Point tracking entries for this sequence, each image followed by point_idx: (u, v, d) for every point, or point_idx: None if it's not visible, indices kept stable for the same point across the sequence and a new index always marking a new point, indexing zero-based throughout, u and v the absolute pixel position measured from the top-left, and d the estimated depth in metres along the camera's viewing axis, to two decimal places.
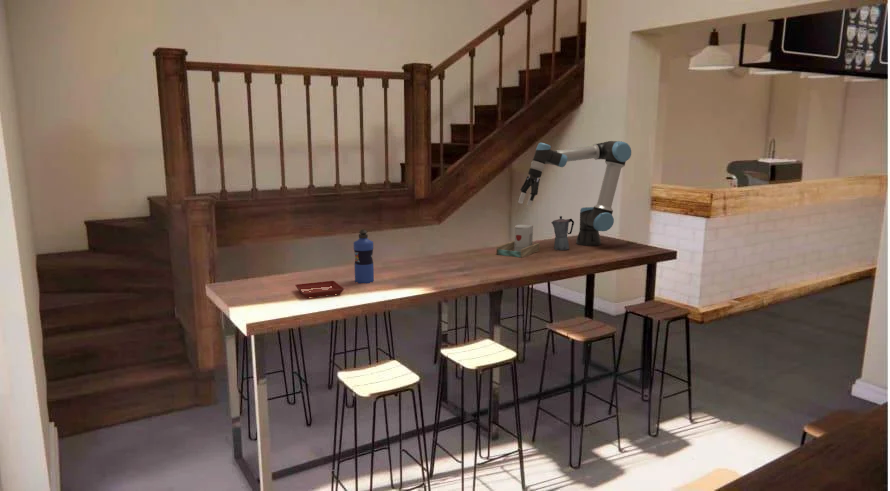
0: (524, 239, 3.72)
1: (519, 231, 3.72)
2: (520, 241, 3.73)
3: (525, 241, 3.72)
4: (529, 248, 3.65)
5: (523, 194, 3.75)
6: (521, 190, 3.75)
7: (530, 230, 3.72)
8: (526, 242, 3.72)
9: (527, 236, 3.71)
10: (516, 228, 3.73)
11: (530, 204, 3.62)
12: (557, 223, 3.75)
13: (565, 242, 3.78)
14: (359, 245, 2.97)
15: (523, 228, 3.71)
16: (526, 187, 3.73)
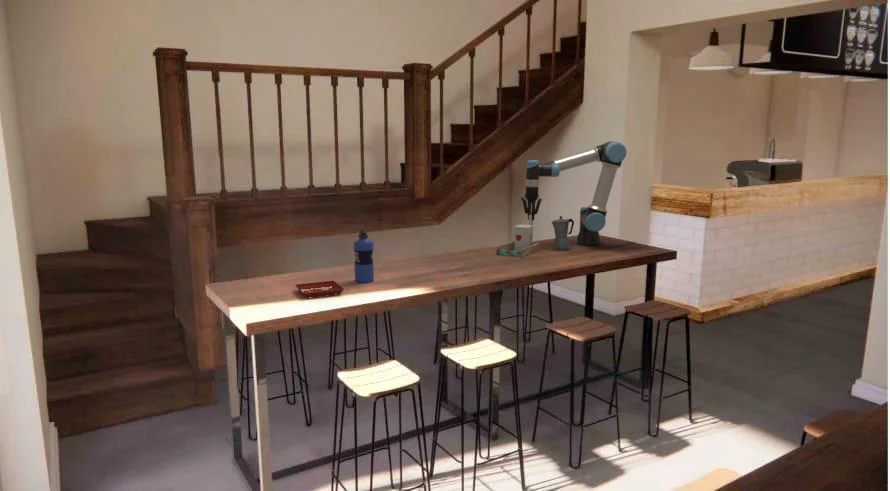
0: (524, 239, 3.72)
1: (519, 231, 3.72)
2: (520, 241, 3.73)
3: (525, 241, 3.72)
4: (529, 248, 3.65)
5: None
6: (527, 213, 3.83)
7: (530, 230, 3.72)
8: (526, 242, 3.72)
9: (527, 236, 3.71)
10: (516, 228, 3.73)
11: (532, 223, 3.84)
12: (557, 223, 3.75)
13: (565, 242, 3.78)
14: (359, 245, 2.97)
15: (523, 228, 3.71)
16: (530, 207, 3.83)
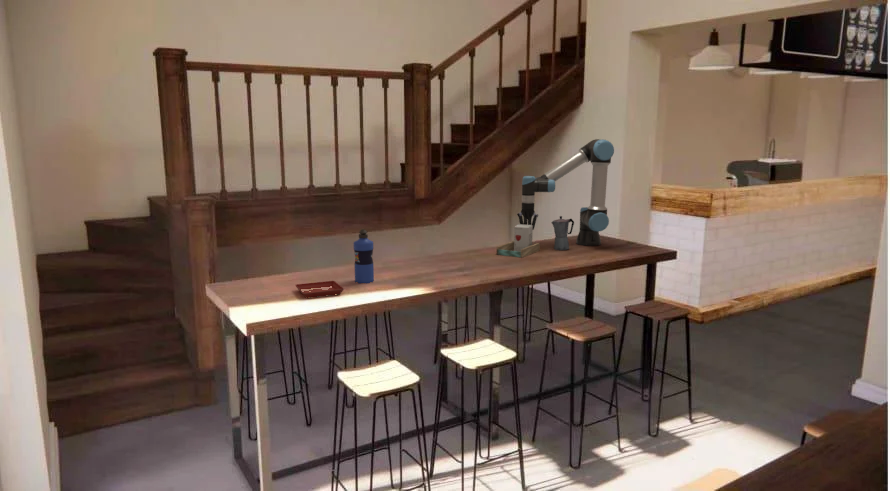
0: (524, 239, 3.71)
1: (518, 231, 3.72)
2: (520, 241, 3.72)
3: (525, 241, 3.71)
4: (529, 248, 3.65)
5: None
6: None
7: (529, 230, 3.71)
8: (526, 243, 3.71)
9: (527, 236, 3.70)
10: (516, 228, 3.72)
11: None
12: (557, 223, 3.75)
13: (565, 242, 3.78)
14: (359, 245, 2.97)
15: (522, 228, 3.70)
16: (526, 223, 3.80)
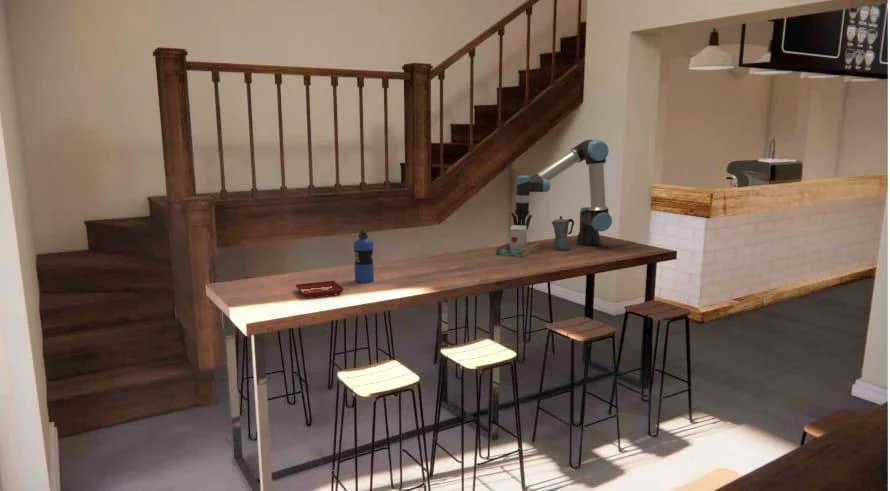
0: (520, 241, 3.66)
1: (515, 233, 3.65)
2: (516, 243, 3.67)
3: (521, 242, 3.66)
4: (529, 248, 3.65)
5: None
6: None
7: (525, 232, 3.66)
8: (522, 244, 3.66)
9: (523, 238, 3.65)
10: (511, 230, 3.65)
11: None
12: (557, 223, 3.75)
13: (565, 242, 3.78)
14: (359, 245, 2.97)
15: (519, 230, 3.64)
16: (520, 223, 3.75)
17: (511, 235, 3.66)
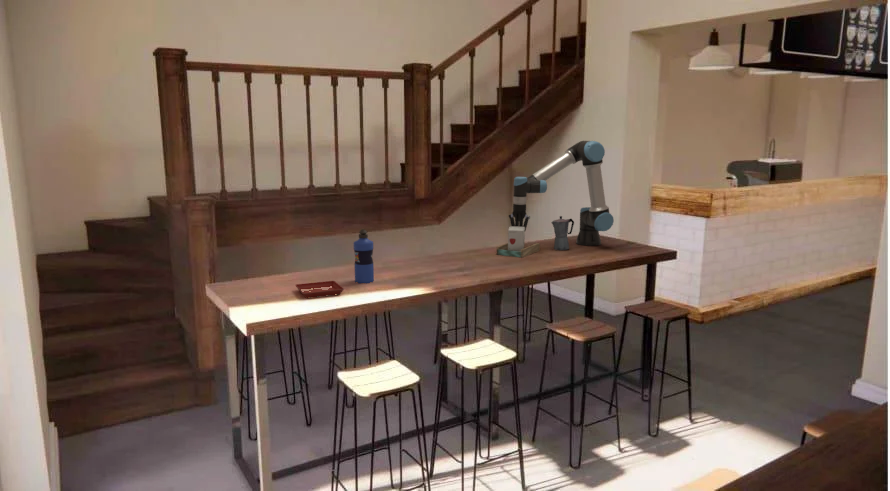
0: (518, 242, 3.62)
1: (513, 234, 3.61)
2: (514, 244, 3.62)
3: (519, 244, 3.62)
4: (529, 248, 3.65)
5: None
6: None
7: None
8: (520, 246, 3.62)
9: (521, 239, 3.61)
10: (510, 231, 3.61)
11: None
12: (557, 223, 3.75)
13: (565, 242, 3.78)
14: (359, 245, 2.97)
15: (517, 231, 3.60)
16: (517, 224, 3.71)
17: (509, 236, 3.62)
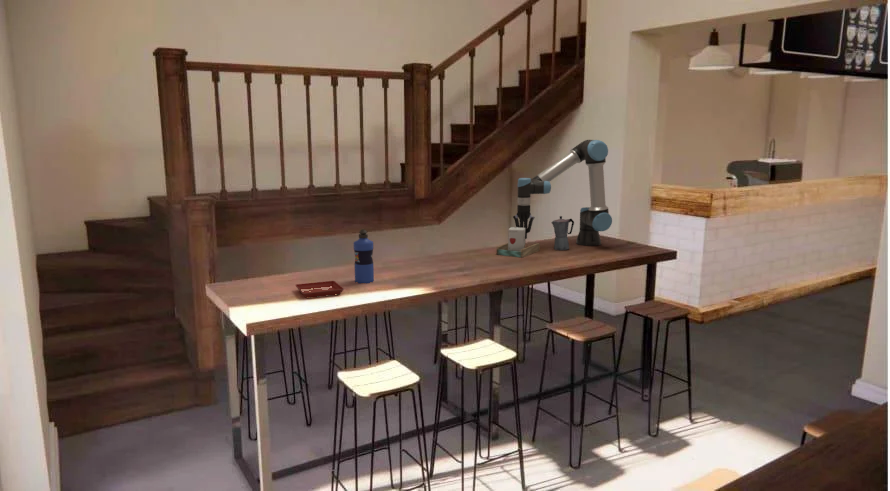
0: (519, 242, 3.62)
1: (513, 233, 3.62)
2: (514, 244, 3.63)
3: (519, 244, 3.62)
4: (529, 248, 3.65)
5: None
6: None
7: (524, 233, 3.63)
8: (520, 246, 3.63)
9: (521, 239, 3.62)
10: (510, 231, 3.62)
11: None
12: (557, 223, 3.75)
13: (565, 242, 3.78)
14: (359, 245, 2.97)
15: (517, 231, 3.61)
16: (522, 225, 3.74)
17: (509, 236, 3.63)
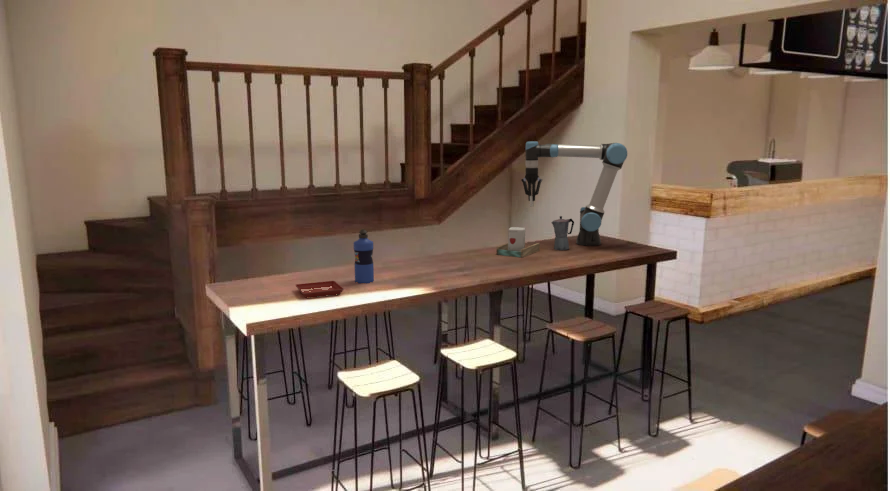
0: (519, 242, 3.62)
1: (513, 233, 3.62)
2: (514, 244, 3.63)
3: (519, 244, 3.62)
4: (529, 248, 3.65)
5: None
6: (528, 194, 3.86)
7: (524, 233, 3.63)
8: (520, 246, 3.63)
9: (521, 239, 3.62)
10: (510, 231, 3.62)
11: (533, 204, 3.87)
12: (557, 223, 3.75)
13: (565, 242, 3.78)
14: (359, 245, 2.97)
15: (517, 231, 3.61)
16: (530, 188, 3.85)
17: (509, 236, 3.63)
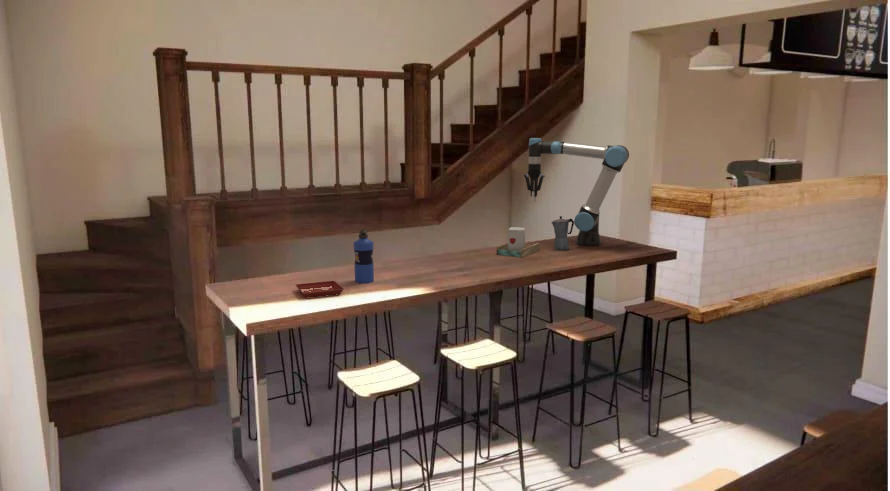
0: (519, 242, 3.62)
1: (513, 233, 3.62)
2: (514, 244, 3.63)
3: (519, 244, 3.62)
4: (529, 248, 3.65)
5: None
6: (530, 190, 3.93)
7: (524, 233, 3.63)
8: (520, 246, 3.63)
9: (521, 239, 3.62)
10: (510, 231, 3.62)
11: (535, 200, 3.94)
12: (557, 223, 3.75)
13: (565, 242, 3.78)
14: (359, 245, 2.97)
15: (517, 231, 3.61)
16: (532, 183, 3.92)
17: (509, 236, 3.63)
